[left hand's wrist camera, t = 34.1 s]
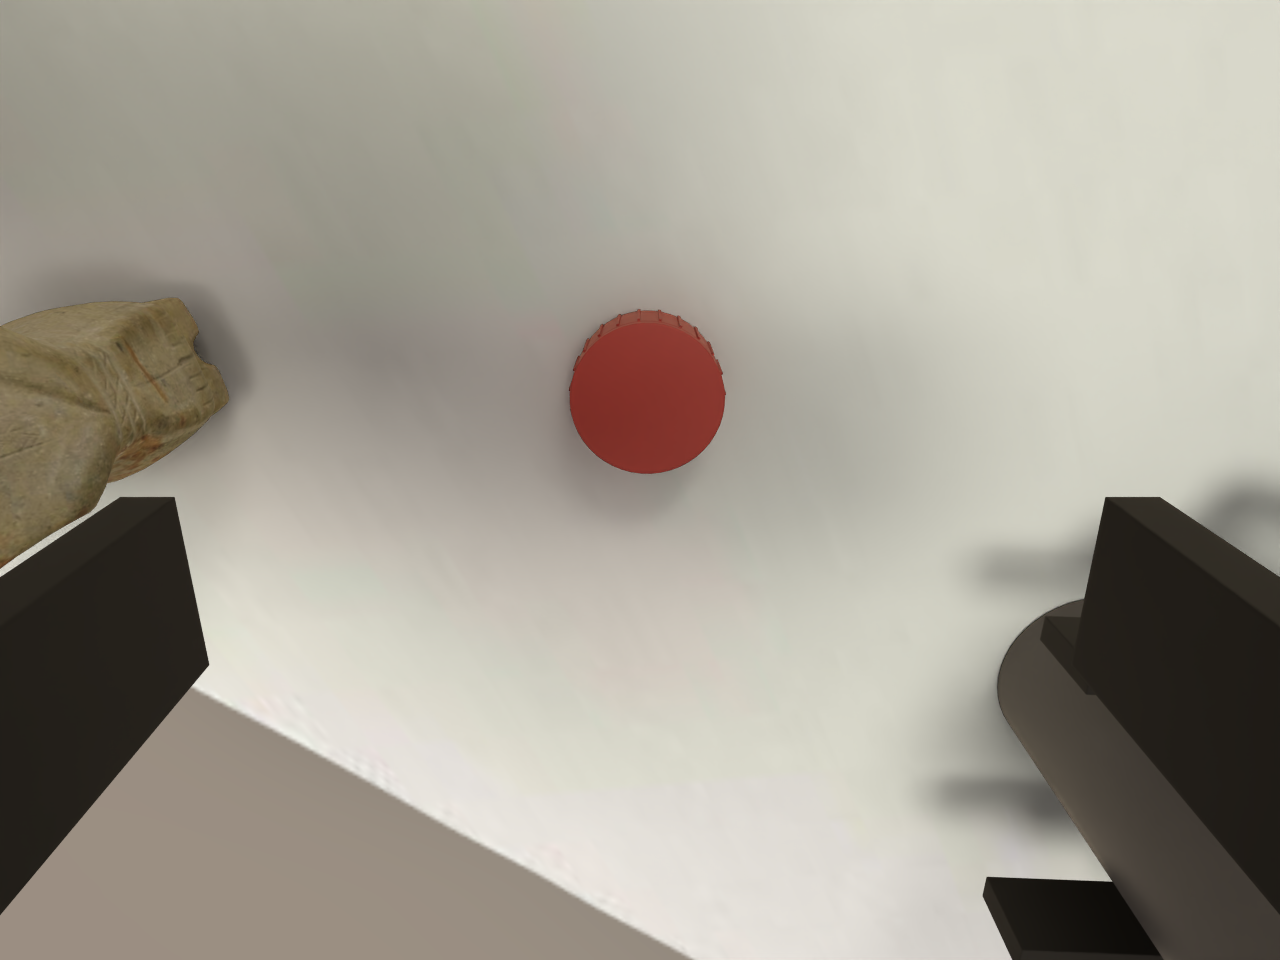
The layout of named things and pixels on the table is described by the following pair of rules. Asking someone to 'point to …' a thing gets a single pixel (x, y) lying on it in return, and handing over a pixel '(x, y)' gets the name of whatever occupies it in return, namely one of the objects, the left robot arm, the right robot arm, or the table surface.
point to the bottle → (1133, 814)
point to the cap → (647, 392)
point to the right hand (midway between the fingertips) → (1031, 795)
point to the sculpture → (92, 407)
